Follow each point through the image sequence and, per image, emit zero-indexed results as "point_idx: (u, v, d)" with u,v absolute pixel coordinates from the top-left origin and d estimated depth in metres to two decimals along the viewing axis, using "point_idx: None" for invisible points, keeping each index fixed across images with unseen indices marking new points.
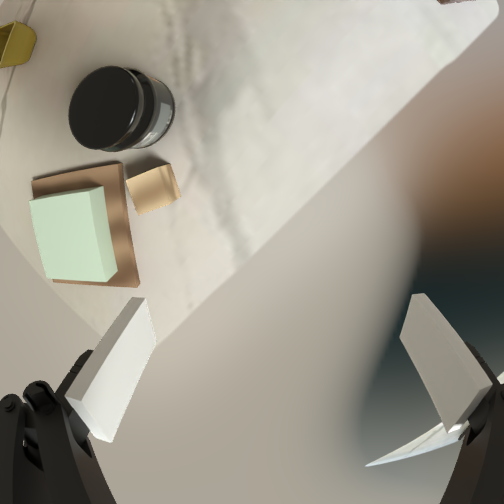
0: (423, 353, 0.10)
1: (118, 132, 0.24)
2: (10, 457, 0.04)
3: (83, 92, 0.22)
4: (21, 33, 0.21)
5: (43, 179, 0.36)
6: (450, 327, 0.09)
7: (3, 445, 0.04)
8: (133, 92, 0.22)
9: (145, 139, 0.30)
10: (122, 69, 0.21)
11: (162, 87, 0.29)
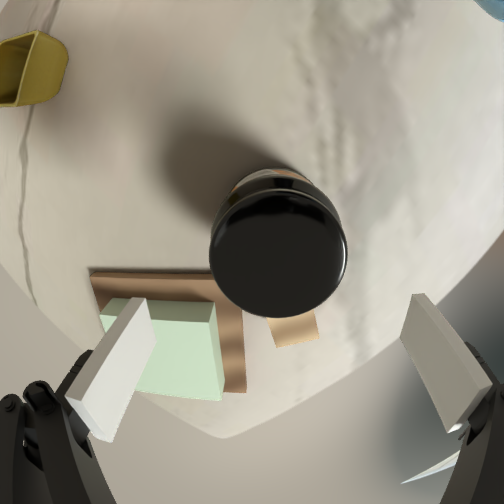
0: (423, 353, 0.10)
1: (310, 303, 0.20)
2: (10, 457, 0.04)
3: (243, 230, 0.18)
4: (46, 51, 0.17)
5: (111, 279, 0.32)
6: (450, 327, 0.09)
7: (3, 445, 0.04)
8: (341, 252, 0.18)
9: None
10: (323, 208, 0.17)
11: None
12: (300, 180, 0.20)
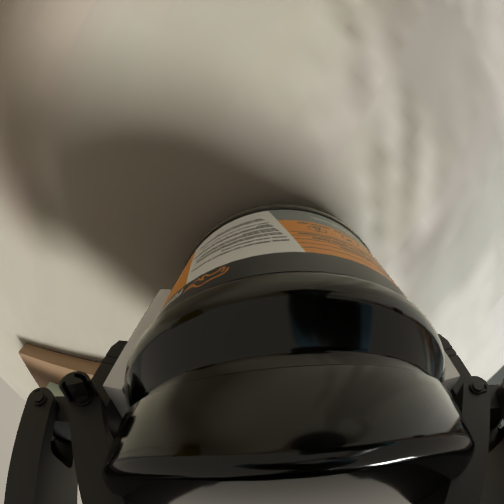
0: None
1: None
2: (36, 454, 0.04)
3: (181, 503, 0.03)
4: None
5: (41, 361, 0.18)
6: None
7: (29, 440, 0.05)
8: None
9: None
10: (463, 446, 0.03)
11: None
12: (380, 298, 0.05)
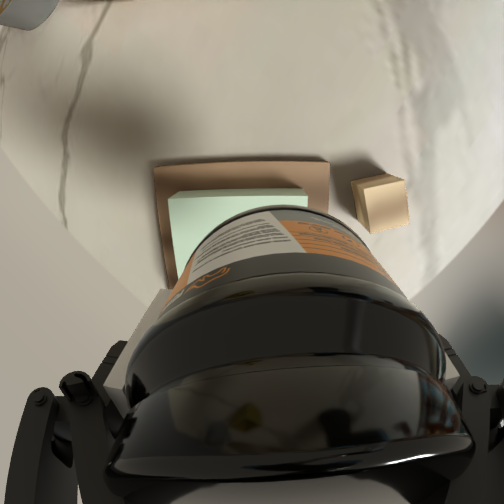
0: None
1: None
2: (36, 453, 0.04)
3: None
4: None
5: (182, 167, 0.30)
6: None
7: (29, 440, 0.05)
8: None
9: None
10: (464, 447, 0.03)
11: None
12: (381, 299, 0.05)
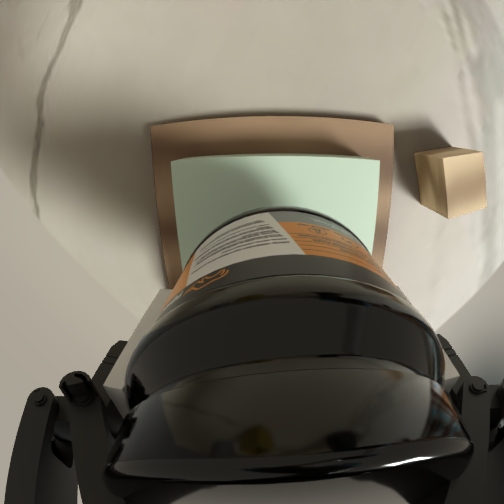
0: None
1: None
2: (36, 454, 0.04)
3: None
4: None
5: (192, 123, 0.20)
6: None
7: (29, 440, 0.05)
8: None
9: None
10: (462, 449, 0.03)
11: None
12: (380, 301, 0.05)
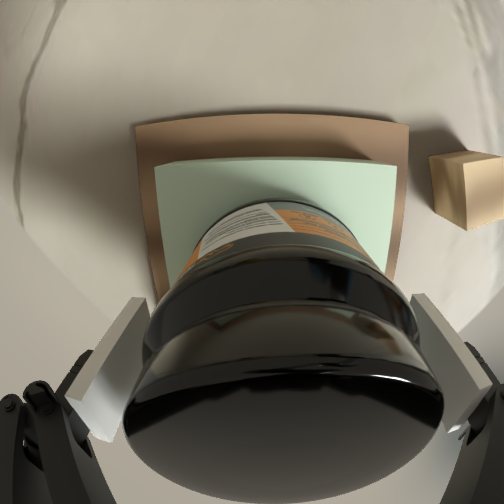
0: (423, 353, 0.10)
1: (340, 492, 0.07)
2: (10, 457, 0.04)
3: (191, 433, 0.05)
4: None
5: (181, 122, 0.17)
6: (450, 327, 0.09)
7: (3, 445, 0.04)
8: (426, 439, 0.05)
9: None
10: (425, 382, 0.04)
11: None
12: (352, 264, 0.07)
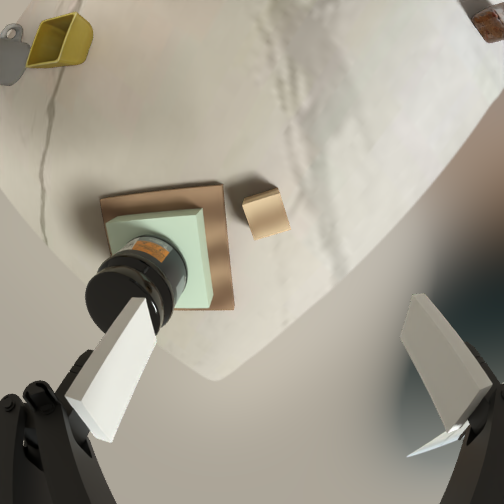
0: (423, 353, 0.10)
1: None
2: (10, 457, 0.04)
3: (97, 293, 0.26)
4: (80, 28, 0.24)
5: (118, 198, 0.39)
6: (450, 327, 0.09)
7: (3, 445, 0.04)
8: (152, 308, 0.27)
9: None
10: (133, 281, 0.26)
11: (173, 261, 0.33)
12: (134, 257, 0.28)
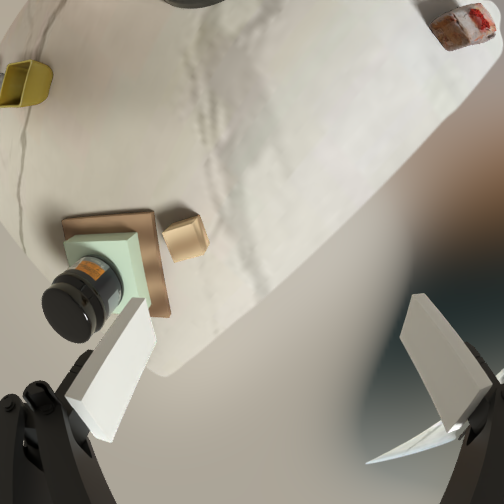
0: (423, 353, 0.10)
1: (83, 338, 0.33)
2: (10, 457, 0.04)
3: (48, 303, 0.31)
4: (38, 72, 0.28)
5: (74, 220, 0.43)
6: (450, 327, 0.09)
7: (3, 445, 0.04)
8: (83, 317, 0.31)
9: None
10: (69, 296, 0.30)
11: (107, 278, 0.38)
12: (74, 276, 0.33)
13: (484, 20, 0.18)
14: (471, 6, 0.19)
